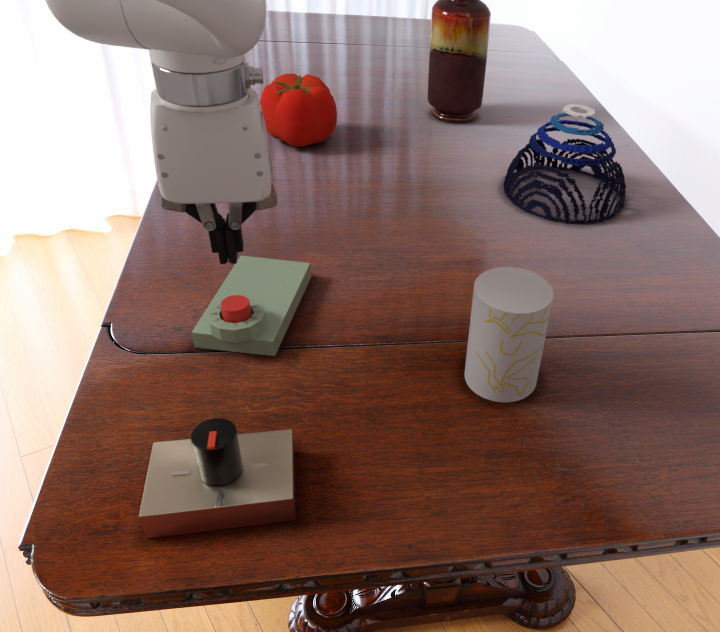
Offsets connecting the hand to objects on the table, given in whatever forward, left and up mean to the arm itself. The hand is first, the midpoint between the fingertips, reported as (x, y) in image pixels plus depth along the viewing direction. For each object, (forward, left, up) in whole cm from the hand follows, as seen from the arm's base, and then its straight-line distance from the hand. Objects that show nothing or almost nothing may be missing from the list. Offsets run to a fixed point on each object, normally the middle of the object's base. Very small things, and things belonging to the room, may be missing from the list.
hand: (229, 256), depth 71 cm
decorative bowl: (+59, -12, -11) cm, 61 cm away
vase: (+75, +21, -11) cm, 79 cm away
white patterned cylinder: (+13, -27, -11) cm, 32 cm away
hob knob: (-16, -15, -8) cm, 23 cm away
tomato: (+45, +34, -11) cm, 58 cm away
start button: (0, 0, -8) cm, 7 cm away
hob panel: (-16, -15, -11) cm, 24 cm away
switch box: (+5, +3, -11) cm, 12 cm away
